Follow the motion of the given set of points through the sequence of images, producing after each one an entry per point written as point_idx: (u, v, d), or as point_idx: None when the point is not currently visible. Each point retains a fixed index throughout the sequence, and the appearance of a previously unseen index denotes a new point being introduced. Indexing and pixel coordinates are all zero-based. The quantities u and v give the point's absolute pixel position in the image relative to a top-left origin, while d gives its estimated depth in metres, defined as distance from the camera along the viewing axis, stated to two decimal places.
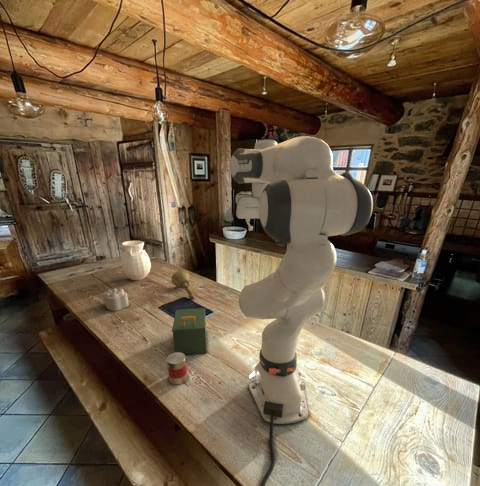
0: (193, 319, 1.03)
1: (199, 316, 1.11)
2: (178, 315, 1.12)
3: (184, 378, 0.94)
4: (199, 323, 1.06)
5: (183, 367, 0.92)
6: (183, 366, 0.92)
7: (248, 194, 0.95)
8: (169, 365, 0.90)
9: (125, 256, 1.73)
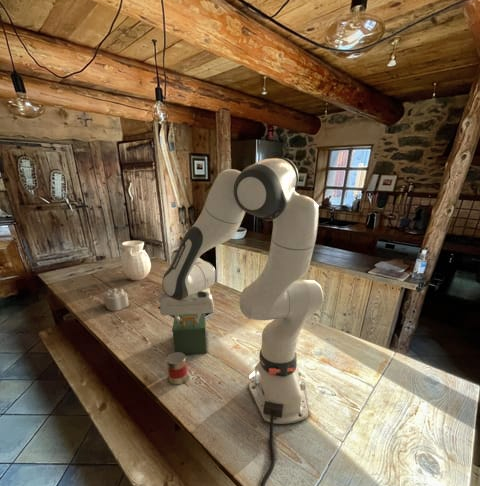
0: (193, 319, 1.03)
1: None
2: (178, 315, 1.12)
3: (184, 378, 0.94)
4: (199, 323, 1.06)
5: (183, 367, 0.92)
6: (183, 366, 0.92)
7: None
8: (169, 365, 0.90)
9: (125, 256, 1.73)
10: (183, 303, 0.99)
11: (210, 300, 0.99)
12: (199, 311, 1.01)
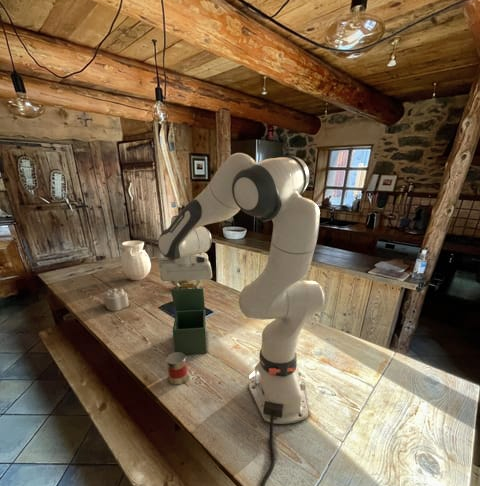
0: (192, 284, 1.07)
1: None
2: None
3: (184, 378, 0.94)
4: None
5: (183, 367, 0.92)
6: (183, 366, 0.92)
7: (170, 260, 1.02)
8: (169, 365, 0.90)
9: (125, 256, 1.73)
10: (182, 269, 1.03)
11: (208, 266, 1.03)
12: (198, 277, 1.05)
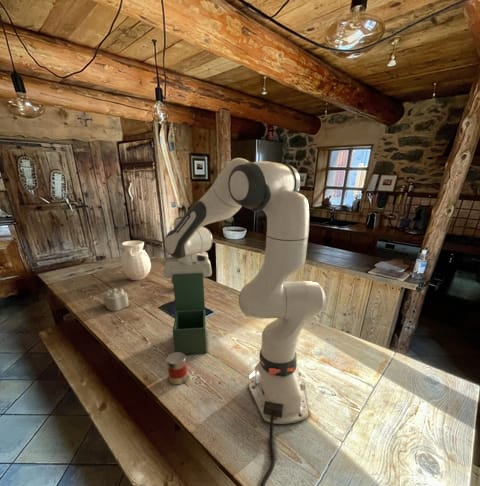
0: None
1: None
2: None
3: (184, 378, 0.94)
4: None
5: (183, 367, 0.92)
6: (183, 366, 0.92)
7: (172, 258, 1.10)
8: (169, 365, 0.90)
9: (125, 256, 1.73)
10: (184, 267, 1.11)
11: (208, 264, 1.11)
12: None
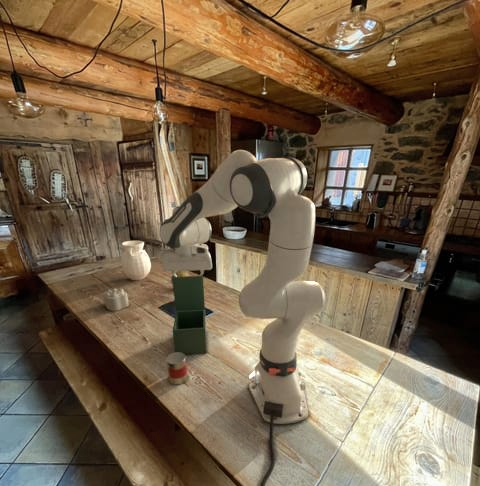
0: None
1: None
2: None
3: (184, 378, 0.94)
4: None
5: (183, 367, 0.92)
6: (183, 366, 0.92)
7: (171, 250, 1.05)
8: (169, 365, 0.90)
9: (125, 256, 1.73)
10: (183, 259, 1.06)
11: (208, 256, 1.06)
12: (198, 268, 1.08)
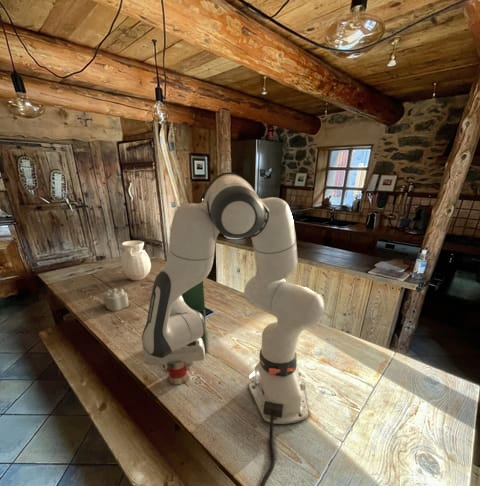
0: None
1: None
2: None
3: (184, 378, 0.94)
4: None
5: (183, 367, 0.92)
6: (183, 366, 0.92)
7: None
8: (169, 365, 0.90)
9: (125, 256, 1.73)
10: None
11: (200, 348, 0.89)
12: (188, 359, 0.91)
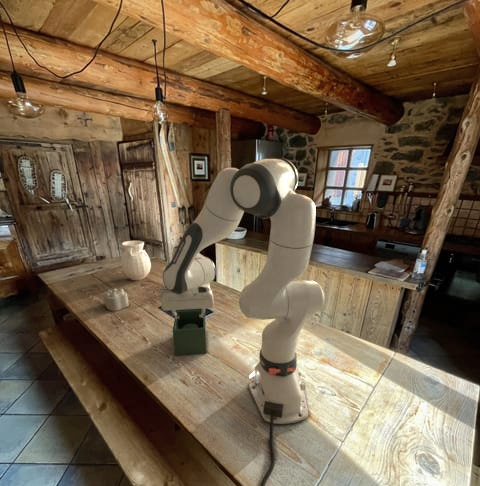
0: None
1: None
2: None
3: None
4: None
5: None
6: None
7: None
8: None
9: (125, 256, 1.73)
10: (184, 298, 1.01)
11: (210, 295, 1.01)
12: (199, 306, 1.03)
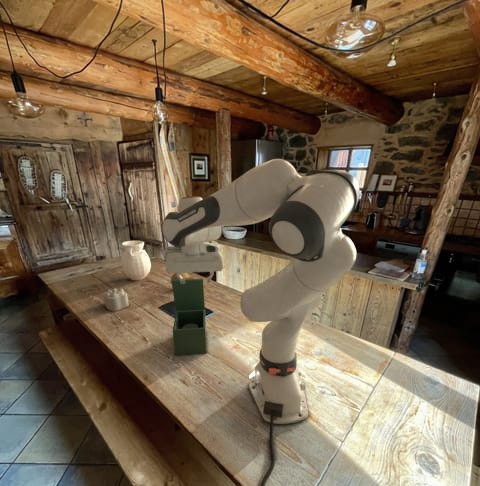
0: (192, 277, 1.11)
1: None
2: None
3: None
4: None
5: None
6: None
7: (176, 249, 0.91)
8: None
9: (125, 256, 1.73)
10: (190, 259, 0.92)
11: (219, 256, 0.92)
12: (207, 269, 0.94)
